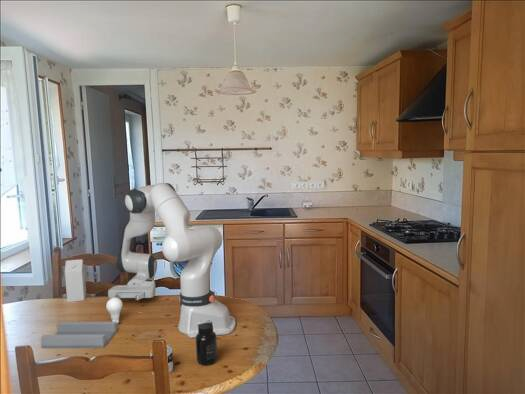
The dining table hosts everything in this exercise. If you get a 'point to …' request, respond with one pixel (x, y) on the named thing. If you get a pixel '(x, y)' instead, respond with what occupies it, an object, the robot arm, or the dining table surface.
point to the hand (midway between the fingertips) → (125, 298)
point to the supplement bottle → (206, 344)
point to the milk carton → (75, 280)
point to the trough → (80, 335)
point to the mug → (170, 358)
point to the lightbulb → (114, 308)
